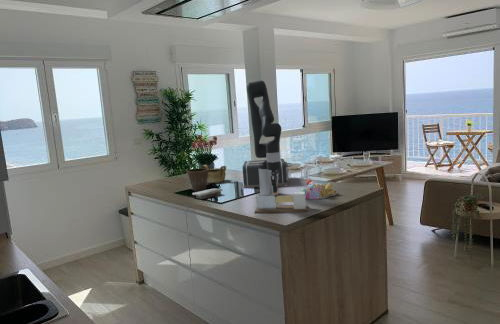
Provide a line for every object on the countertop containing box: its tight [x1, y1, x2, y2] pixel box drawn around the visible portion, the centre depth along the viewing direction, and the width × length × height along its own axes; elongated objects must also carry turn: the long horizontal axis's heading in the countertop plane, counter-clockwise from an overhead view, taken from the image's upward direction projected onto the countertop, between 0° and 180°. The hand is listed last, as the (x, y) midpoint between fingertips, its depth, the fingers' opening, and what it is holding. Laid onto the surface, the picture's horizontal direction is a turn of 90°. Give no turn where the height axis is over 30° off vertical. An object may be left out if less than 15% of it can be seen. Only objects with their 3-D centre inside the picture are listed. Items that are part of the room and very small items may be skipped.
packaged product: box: [192, 188, 223, 200], centre depth 263 cm, size 18×5×10 cm
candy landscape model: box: [299, 179, 338, 200], centre depth 247 cm, size 25×24×9 cm
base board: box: [254, 204, 309, 214], centre depth 217 cm, size 12×28×1 cm, turn 80°
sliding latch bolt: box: [273, 182, 294, 204], centre depth 216 cm, size 3×17×12 cm, turn 80°
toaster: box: [242, 158, 292, 189], centre depth 294 cm, size 30×36×17 cm
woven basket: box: [201, 164, 227, 184], centre depth 312 cm, size 22×17×15 cm
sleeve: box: [256, 194, 278, 210], centre depth 218 cm, size 5×10×7 cm, turn 80°
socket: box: [292, 191, 307, 209], centre depth 215 cm, size 6×6×8 cm
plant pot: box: [186, 167, 208, 192], centre depth 285 cm, size 15×15×16 cm
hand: (275, 191), depth 216 cm, fingers closed on sliding latch bolt, 3 cm apart
